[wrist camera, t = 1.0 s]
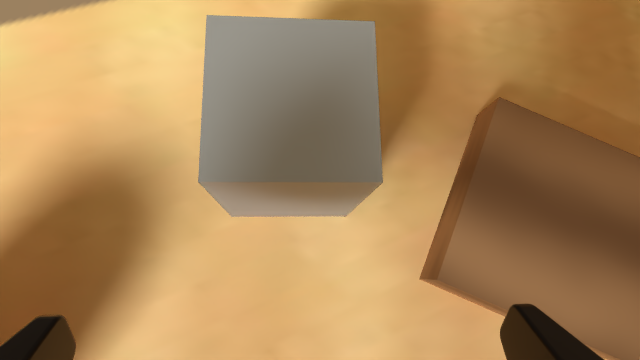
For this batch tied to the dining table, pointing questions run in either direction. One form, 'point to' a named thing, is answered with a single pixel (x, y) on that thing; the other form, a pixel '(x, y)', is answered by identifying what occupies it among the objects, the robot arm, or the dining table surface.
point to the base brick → (545, 228)
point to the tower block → (289, 116)
